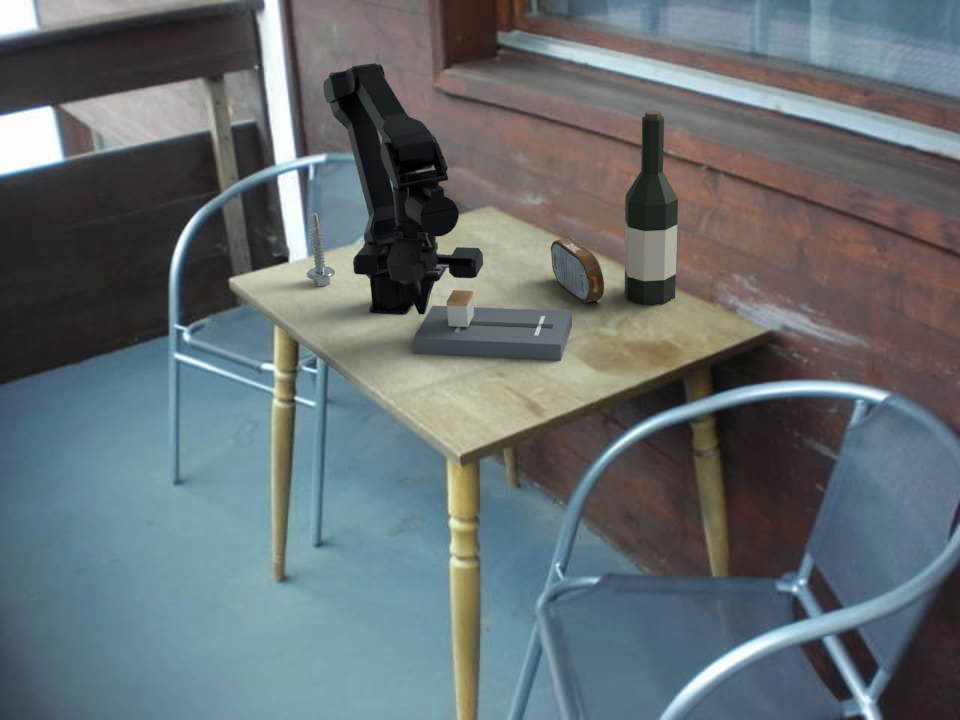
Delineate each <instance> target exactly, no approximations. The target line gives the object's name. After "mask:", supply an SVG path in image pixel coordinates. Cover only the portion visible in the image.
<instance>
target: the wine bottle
mask: <svg viewBox="0 0 960 720" xmlns="http://www.w3.org/2000/svg"><path fill="white" fill-rule="evenodd" d="M664 132H665V117H664V116H663V115H662V112H661V110H655V109H654V110H652V109H651V110H647V111H645V112H644V116H642V117H641V155H640V156H641V159H640V166H641V167H640V169H641V170H640V172H639V173H638V175H637V176H636V178H635V179H634V181H633V183H632V184H631V186H630V187H629V189H628V190H627V192H626V193H625V196H624V197H625V203H624V204H625V206H624V207H625V210H624V212H625V215H624V216H625V217H624V222H625V224H624V228H625V229H624V296H625V298H626V301H627V302H631V303H635V304H637V305H641V306H655V305H657V304H660V305H665V304H667V303H669V302H670V301H672V300H674V299H676V281H677V280H676V279H677V276H676V275H677V248H678V247H677V246H678V244H677V243H678V214H679V213H678V211H679V210H678V209H679V197H678V196H677V194H676V193H675V191H674V189H673V188H672V185H671V184H670V182H669V180H668V178H667V176H666V175H665V173H664V145H665V144H664V143H665V142H664V139H665V134H664ZM673 298H674V299H673ZM671 299H672V300H671ZM668 301H669V302H668Z"/></svg>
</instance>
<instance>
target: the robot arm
mask: <svg viewBox="0 0 960 720" xmlns="http://www.w3.org/2000/svg"><path fill="white" fill-rule="evenodd" d="M322 87H323V89H322V90H323V96H324V99H325V101H326V103H327V104H329V107H330V109H331V113H332V116H333V117H334V118H335V119H336V120H337V121H338V122H339V123H340V124H341V125H342V126H343V127H344V128H345V129H346V131H347V134H348V138H349V142H350V146H351V149H352V150H351V151H352V154H353V157H354V161H355V166H356V170H357V174H358V177H359V182H360V186H361V189H362V193H363V198H364V201H365V206H366V208H367V209H366V210H367V213H368V220H367V223H366V226H365V230H364V233H363V239H364V244H363V246H362V247H361V249H360V250H359V251H358V252H357V254H356V255H354V257H353V261H352V265H353V273H354V274H355V275H364V276H366V277H367V278H368V279H369V283H370V284H369V285H370V293H371V294H370V296H371V305H370V307H369V308H368V310H369V312H370V313H387V314H388V313H389V314H391V313H392V314H408V313H409V311H410V310H411V309H412V307H413V306H414V307H415V310H416V312H417V313H418V315H422V316H423V315H425V314H426V312H427V308H428V304H429V301H430V298H431V294H432V290H433V287H434V286H435V283H436V282H439V281H440V280H441V278H442V276H443V275H444V273H445V271H446V270H447V269H448V273H449V274H450V275H451V276H452V277H453V278H456V279H474V278H476V277H477V276H478V274H479V273H480V270H481V269H482V267H483V266H484V254H483V251H482V250H481V249H480V248H479V247H464V246H463V247H459V246H457V247H455V248H454V251H453V252H452V253H451V254H444V253H443V254H442V253H438V252H437V250H438V249H439V245H438V244H439V243H438V242H437V237H438V238H439V237H444V236H446V235H448V234H449V233H450V232H452V231H453V229H455V228H456V225H457V223H458V220H459V218H460V217H459V215H460V212H459V209H458V207H457V204H456V203H455V202H454V200H452V199H451V198H449V197H448V196H447V195H446V194H445V192H444V187H442V185H439V183H441V182H447V181H449V177H448V173H447V170H448V169H449V167H448V164H447V162H446V159H445V157H444V153H443V151H442V148H441V146H440V144H439V142H438V141H437V138H436V137H435V135H433V134H432V132H431V130H429V128H428V127H427V126H426V125H425V124H424V123H423V122H422V121H421V120H418V119H417V118H413V117H412V116H409V115H408V113H407V111H406V110H405V107H403V105H402V104H401V102H400V101H399V99H398V97H397V95H396V93H395V91H393V88H392V86H390V84H389V82H388V81H387V79H386V75H385V70H384V67H383V66H382V64H381V63H380V64H377V63H376V62H374V63H373V62H372V63H364V64H358V65H353V66H352V67H349V68H347V69H345V70H341V71H340V70H339V71H333V72H330V73H329V74H328V77H327V78H326V79H325V80H324V81H323V85H322ZM380 137H381V139H380ZM432 167H433V168H434V169H431V168H432ZM429 169H431V170H429ZM423 170H425V171H423ZM417 171H418V172H417ZM419 171H420V172H419Z"/></svg>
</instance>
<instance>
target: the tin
mask: <svg viewBox="0 0 960 720" xmlns="http://www.w3.org/2000/svg"><path fill="white" fill-rule="evenodd" d="M550 252H551V253H550V254H551V266H552V271H553V273H554V277H555V278H556V280H557V282H558V283H559V284H560V286H561V287H563V288H564V290H566V291H567V292H568V293H570V294H571V295H572V296H573V297H575V298H576V299H577V300H578V301H580V302H581V303H583V304H584V303H585V304H586V303H591V302H596V301H600V300H601V299H602V298H603V296H604V292H605V281H604V274H603V270H602V268H601V264H600V262H599V261H598V259H597V257H596V255H594V253H593V252H592V251H591V250H589V249H588V248H586V247H585V246H583V245H582V244H581V243H580V242H578V241H577V240H575V239H574V238H573V237H571V236H566V237H564V238H560V239H557V240H554V241H553V242H552V244H551V246H550Z"/></svg>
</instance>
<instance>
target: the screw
mask: <svg viewBox="0 0 960 720" xmlns="http://www.w3.org/2000/svg"><path fill="white" fill-rule="evenodd" d="M309 229H310V233H311V234H310V236H311V238H310V239H311V243H312V244H311V246H312V248H311V249H313V250H312V252H313V254H312V255H313V259H314V260H313V262H314V264H313V265H314V267H313V268H310V269H309V270H308V271H307V272H306V277H307V278H308V279H311V280H313V285H314V286H316V287H318V288H319V287H320V288H321V287H326V286H328V285H329V284H331V279H330V278H332V277H334V276H335V275H336V271H335V269H334V268H333V267H330V266H326V264H325V263H326V261H325V259H326V258H325V254H324V252H325V251H324V244H323V243H324V241H322V240H323V238H322V236H323V234H322V228H321V224H320V223H319V217H318V213H316V212H315V211H313V212H312V213H311V214H310V228H309Z"/></svg>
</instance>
